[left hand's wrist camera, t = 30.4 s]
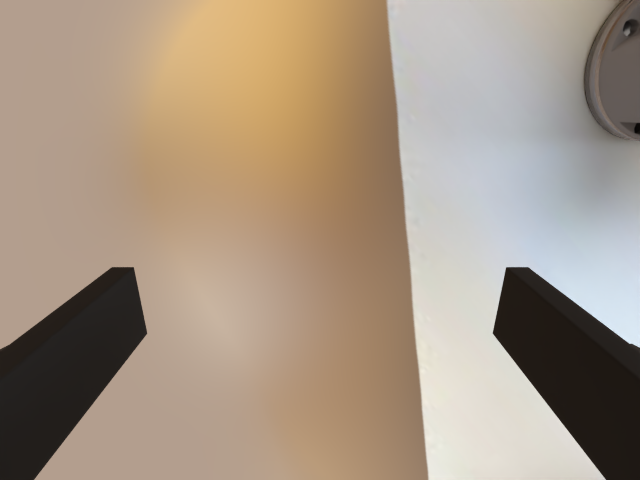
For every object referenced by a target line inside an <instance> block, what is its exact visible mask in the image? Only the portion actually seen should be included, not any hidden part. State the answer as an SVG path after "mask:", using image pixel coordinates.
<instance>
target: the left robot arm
mask: <svg viewBox="0 0 640 480" xmlns="http://www.w3.org/2000/svg"><path fill="white" fill-rule="evenodd" d="M585 91H586V97H587V102H588V105H589V108H590V110H591V112H592V114H593V116H594V117H595V119H596V120H597V121H598V123H599V124H600V125H601V126H602V127H603V128H604V129H606V130H607V131H608V132H610V133H612V134H614V135H615V136H618V137H621V138H624V139H628V140H636V141H640V0H623V1H622V2H621V3H620V4H619V5H618V6H617V7H616V9H615V10H614V11H613V12H612V13H611V15H610V16H609V17H608V19H607V20H606V21H605V23H604V25H603V26H602V28H601V29H600V31H599V33H598V35H597V37H596V39H595V41H594V43H593V46H592V49H591V51H590V54H589V58H588V62H587V67H586V74H585ZM146 334H147V330H146V325H145V321H144V315H143V310H142V306H141V301H140V296H139V291H138V286H137V281H136V276H135V271H134V267H112V268H110V269H109V270H108V271H106V272H105V273H104V274H102V275H101V276H100V277H99V278H97V279H96V280H95V281H93V282H92V283H91V284H89V285H88V286H87V287H85V288H84V289H83V290H81V291H80V292H79V293H77V294H76V295H75V296H73V297H72V298H71V299H69V300H68V301H67V302H65V303H64V304H63V305H62V306H60V307H59V308H57V309H56V310H55V311H53V312H52V313H51V314H50V315H48V316H47V317H46V318H44V319H43V320H42V321H40V322H39V323H38V324H36V325H35V326H34V327H32V328H31V329H30V330H28V331H27V332H26V333H24V334H23V335H22V336H20V337H19V338H18V339H16V340H15V341H14V342H13V343H11V344H10V345H8V346H6V347H4V348H2V349H0V480H34V479H35V478H36V476H37V475H38V474H39V472H40V471H41V470H42V469H43V467H44V466H45V465H46V463H47V462H48V461H49V459H50V458H51V457H52V456H53V454H54V453H55V452H56V451H57V449H58V448H59V447H60V445H61V444H62V443H63V441H64V440H65V439H66V438H67V436H68V435H69V434H70V432H71V431H72V430H73V429H74V427H75V426H76V425H77V423H78V422H79V421H80V420H81V418H82V417H83V416H84V414H85V413H86V412H87V410H88V409H89V408H90V407H91V405H92V404H93V403H94V401H95V400H96V399H97V398H98V396H99V395H100V394H101V392H102V391H103V390H104V388H105V387H106V386H107V385H108V383H109V382H110V381H111V379H112V378H113V377H114V376H115V374H116V373H117V372H118V370H119V369H120V368H121V367H122V365H123V364H124V363H125V361H126V360H127V359H128V358H129V356H130V355H131V354H132V352H133V351H134V350H135V349H136V347H137V346H138V345H139V343H140V342H141V341H142V339H143V338H144V337H145V336H146ZM493 334H494V336H495V337H496V338H497V339H498V341H499V342H500V343H501V345H502V346H503V347H504V349H505V350H506V351H507V352H508V354H509V355H510V356H511V358H512V359H513V360H514V361H515V363H516V364H517V365H518V367H519V368H520V369H521V370H522V372H523V373H524V374H525V376H526V377H527V378H528V380H529V381H530V382H531V383H532V385H533V386H534V387H535V389H536V390H537V391H538V392H539V394H540V395H541V396H542V398H543V399H544V400H545V401H546V403H547V404H548V405H549V407H550V408H551V409H552V411H553V412H554V413H555V414H556V416H557V417H558V418H559V420H560V421H561V422H562V423H563V425H564V426H565V427H566V429H567V430H568V431H569V432H570V434H571V435H572V436H573V438H574V439H575V440H576V441H577V443H578V444H579V445H580V447H581V448H582V449H583V451H584V452H585V453H586V454H587V456H588V457H589V458H590V460H591V461H592V462H593V463H594V465H595V466H596V467H597V469H598V470H599V471H600V472H601V474H602V475H603V476H604V478H605V479H606V480H640V348H639V347H637V346H635V345H633V344H629V343H628V342H626V341H625V340H624V339H622V338H621V337H620V336H618V335H617V334H616V333H614V332H613V331H612V330H610V329H609V328H608V327H606V326H605V325H604V324H602V323H601V322H600V321H598V320H597V319H596V318H594V317H593V316H592V315H590V314H589V313H588V312H587V311H585V310H584V309H583V308H581V307H580V306H579V305H577V304H576V303H575V302H573V301H572V300H571V299H569V298H568V297H567V296H565V295H564V294H563V293H561V292H560V291H559V290H557V289H556V288H555V287H553V286H552V285H551V284H549V283H548V282H547V281H545V280H544V279H543V278H541V277H540V276H539V275H538V274H536V273H535V272H534V271H532V270H531V269H530V268H528V267H506V271H505V276H504V281H503V286H502V291H501V296H500V301H499V306H498V310H497V315H496V320H495V325H494V330H493Z"/></svg>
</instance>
